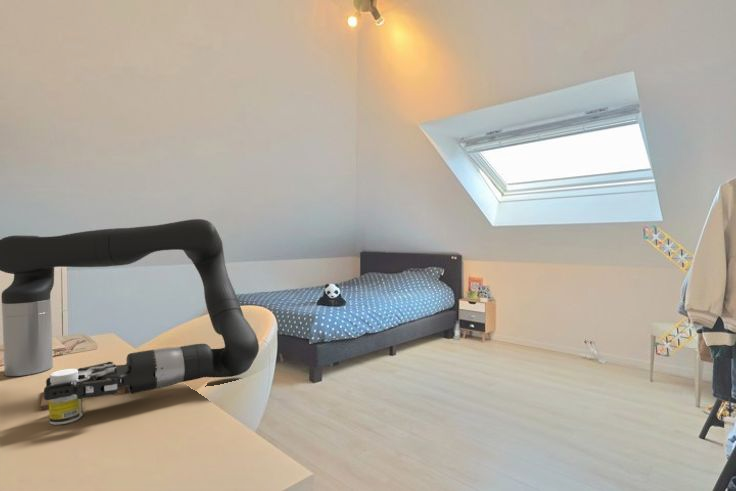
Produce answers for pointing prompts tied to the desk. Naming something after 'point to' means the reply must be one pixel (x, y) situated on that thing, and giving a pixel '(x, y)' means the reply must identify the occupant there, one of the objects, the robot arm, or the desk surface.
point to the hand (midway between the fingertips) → (46, 388)
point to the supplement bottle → (64, 400)
